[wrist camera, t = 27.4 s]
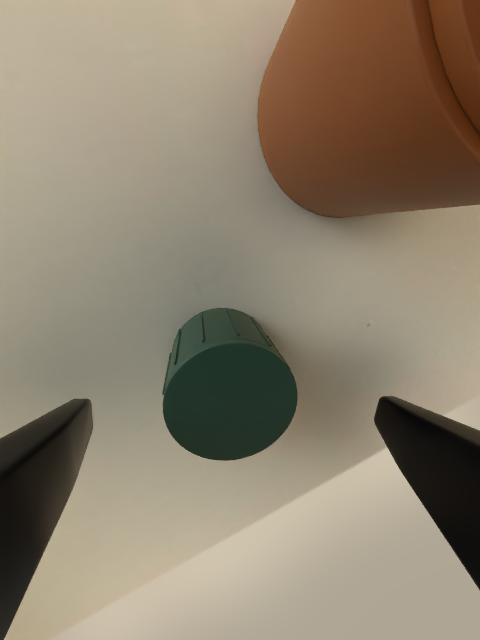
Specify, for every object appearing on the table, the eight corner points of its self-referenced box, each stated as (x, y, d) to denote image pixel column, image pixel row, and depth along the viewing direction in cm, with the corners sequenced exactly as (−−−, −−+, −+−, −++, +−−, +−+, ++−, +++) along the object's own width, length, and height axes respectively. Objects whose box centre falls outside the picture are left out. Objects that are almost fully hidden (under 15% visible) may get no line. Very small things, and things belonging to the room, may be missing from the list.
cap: (229, 287, 11) (245, 313, 7) (285, 357, 12) (321, 408, 9) (151, 350, 11) (131, 403, 8) (214, 412, 13) (222, 481, 9)
